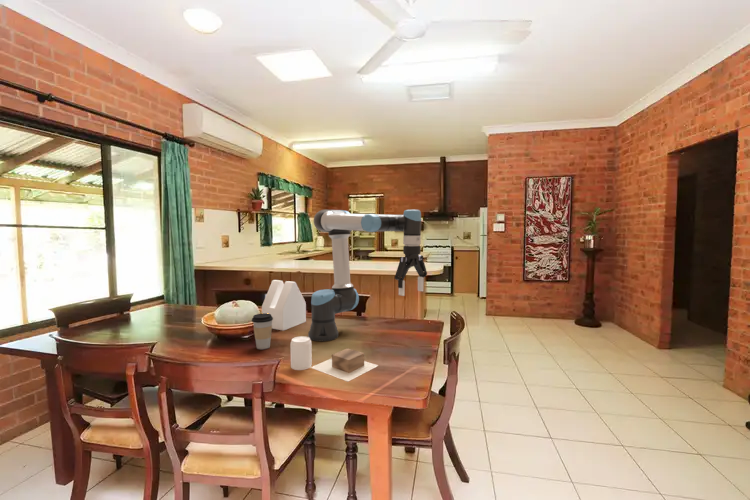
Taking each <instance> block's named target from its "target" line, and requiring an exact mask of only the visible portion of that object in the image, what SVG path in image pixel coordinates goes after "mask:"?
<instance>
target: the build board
mask: <svg viewBox="0 0 750 500" xmlns="http://www.w3.org/2000/svg"><path fill="white" fill-rule="evenodd" d="M377 367H379V365H378V364H376V363H371V362H368V361H366V360H364V366H362V367H360V368H358V369H356V370H354V371H352V372H350V373H347V372H344V371H342V370H339V369H336V368H333V367H332V357H331V358H329V359H327V360H323V362H320V363H318V364H314V365H313V366H311V367H310V368H309V369H313V370H316V371H318V372H320V373H324V374H326V375H330V376H332V377H334V378H337V379H339V380H342V381H345V382H350V381H352V380H354V379H356V378H357V377H360V376H361V375H362V376H363V374H366V373H367V372H369V371H371V370H373V369H375V368H377Z"/></svg>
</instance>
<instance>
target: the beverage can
mask: <svg viewBox="0 0 750 500" xmlns="http://www.w3.org/2000/svg"><path fill="white" fill-rule="evenodd" d="M312 346H313V345H312V340H311V339H310V338H309V337H308V336H306V335H305V336H303V335H300V336H295V337H293V338H291V341H290V368H291V369H292V370H295V371H304V370H308V369H311V368H310V367H312V364H313V363H312V362H313V361H312V358H313V357H312V353H313V352H312V351H313V349H312V348H313V347H312Z"/></svg>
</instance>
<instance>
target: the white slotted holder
mask: <svg viewBox="0 0 750 500" xmlns="http://www.w3.org/2000/svg"><path fill="white" fill-rule="evenodd" d="M270 283H271V284H270V285H269V288H268V290H267V293H266V295H265V297H264V300H263V303H262V305H261V314H262V313H269V314H271V316H272V317H273V320H272V330H277V331H278V330H280V331H286V330H288V329H291V328H293V327H296V326H298V325H301V324H304V323H306V322H307V304H306V303H307V302H306V301H305V298H304V295H302V292H301V290H300V288H299V286H298V284H297V282H296V281H289V280H288V281H287V280H285V282H284V281H283V280H279V279H273V280H271V282H270Z"/></svg>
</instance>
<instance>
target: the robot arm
mask: <svg viewBox="0 0 750 500" xmlns="http://www.w3.org/2000/svg"><path fill="white" fill-rule="evenodd" d="M313 225H314V228H315V229H316V230H317V231H319V232H322V233H328V237H329V238H330V239H331V247H332V248H331V250H332V265H333V266H332V269H333V281H334V284H333V285H332V286H331V289H330V288H329V289H328V288H327V289H319V290H316V291H315V292H313V293H312V294H311V301H310V304H311V324H310V326H309V327H310V328H309V331H308V334H307V337H309V338H310V340H311V341H315V342H328V341H329V342H330V341H333V340H336V339H337V338H338V337H339V330H338V326H337V324H336V319H335V317H336V314H340V313H344V312H350V311H352V310H354V309H355V308H357V306H358V304H359V301H360V296H359V293H358V292H357V289H356V288H354V284H353V283H352V282H351V271H350V253H349V252H350V251H349V237H350V236H351V232H352V231H360V232H363V231H364V232H368V233H374V232H377V233H379V232H403V241H402V243H403V246H402V247H403V249H402V252H403V254H404V256H400V257H399V263H398V266H397V267H396V272H395V275H394V280H397V288H398V296H402V297H405V294H406V293H405V288H406V286H405V285H406V281H405V280H404V279H405V277H406V275H407V274H408V271H409V270H410V269H411V268H412V267H414V269H415V270H416V272H417V275H418V276H417V292H424V284H425V280H424V279H425V278H426V277H427V275H428V271H427V268H426V265H425V261H424V256H423V255H421V254H422V253H421V248H422V247H421V246H420V245H421V239H422V237H421V235H422V234H421V233H422V232H421V231H422V212H421V210H420V209H405V210H404V211H403V214H388V213H387V214H383V213H382V214H379V213H351V212H349V211H348V210H343V209H321V210H319V211H318V212H316V213H315V215H314V216H313Z"/></svg>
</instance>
